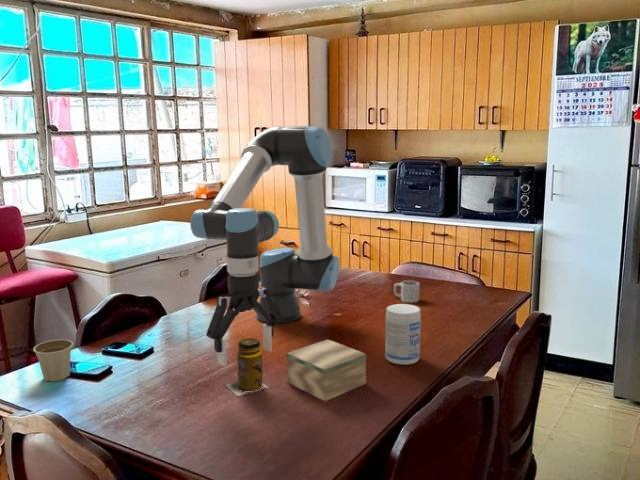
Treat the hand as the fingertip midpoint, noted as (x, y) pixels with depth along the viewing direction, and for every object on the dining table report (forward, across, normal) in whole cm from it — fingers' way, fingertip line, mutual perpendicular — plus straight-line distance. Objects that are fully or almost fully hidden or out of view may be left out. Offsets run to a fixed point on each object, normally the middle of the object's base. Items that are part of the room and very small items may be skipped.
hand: (245, 357), depth 146 cm
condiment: (+8, 0, 0) cm, 8 cm away
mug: (+7, +87, +21) cm, 90 cm away
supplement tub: (+8, +42, -15) cm, 46 cm away
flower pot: (+8, -33, +39) cm, 52 cm away
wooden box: (+8, +16, -12) cm, 22 cm away
